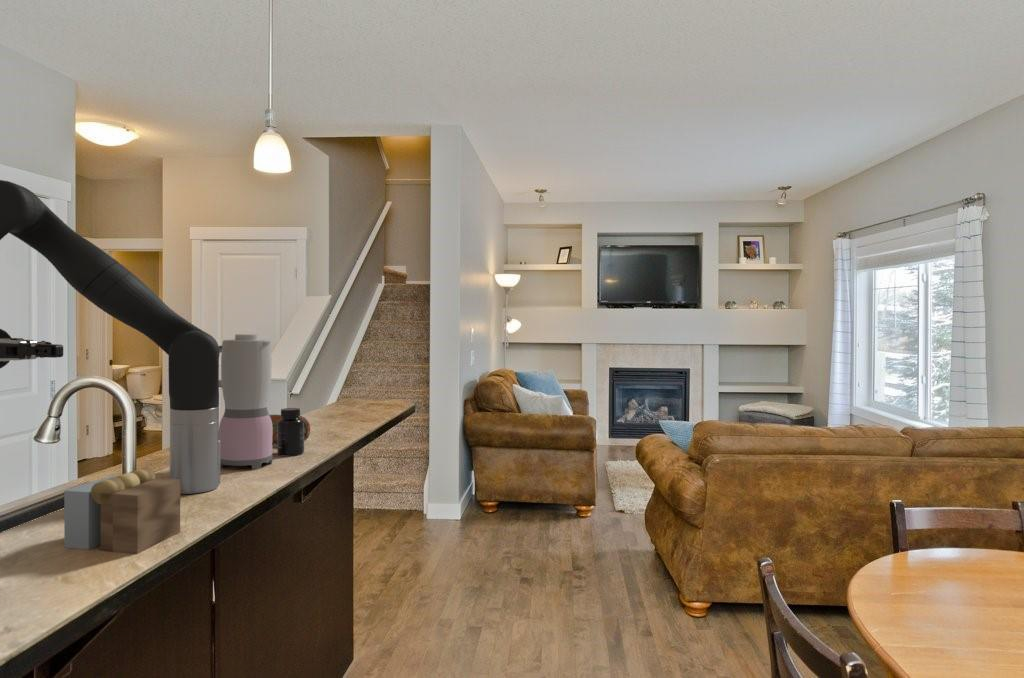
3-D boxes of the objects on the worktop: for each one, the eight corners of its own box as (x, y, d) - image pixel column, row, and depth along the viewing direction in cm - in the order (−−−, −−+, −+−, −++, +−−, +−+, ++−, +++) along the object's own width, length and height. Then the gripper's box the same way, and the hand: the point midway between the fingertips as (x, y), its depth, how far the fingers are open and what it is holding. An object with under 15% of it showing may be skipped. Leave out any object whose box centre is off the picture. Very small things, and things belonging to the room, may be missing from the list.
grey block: (113, 526, 109) (113, 465, 109) (155, 530, 108) (155, 467, 108) (64, 547, 99) (64, 479, 99) (110, 551, 98) (110, 482, 98)
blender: (282, 460, 161) (283, 334, 159) (255, 472, 149) (256, 335, 147) (226, 457, 163) (226, 333, 162) (194, 468, 151) (195, 334, 150)
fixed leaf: (137, 528, 109) (137, 466, 108) (180, 531, 107) (180, 469, 107) (90, 549, 99) (90, 481, 98) (137, 553, 98) (137, 484, 97)
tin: (257, 443, 182) (257, 414, 181) (263, 441, 185) (263, 412, 184) (306, 446, 179) (306, 416, 179) (311, 444, 182) (311, 414, 182)
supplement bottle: (293, 449, 174) (294, 406, 173) (309, 453, 170) (309, 408, 169) (271, 453, 168) (271, 408, 168) (286, 457, 164) (287, 411, 164)
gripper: (-66, 327, 106) (25, 330, 103) (7, 326, 119) (90, 328, 117) (-66, 372, 106) (25, 376, 104) (7, 366, 119) (90, 369, 117)
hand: (59, 351), depth 110 cm, fingers closed
